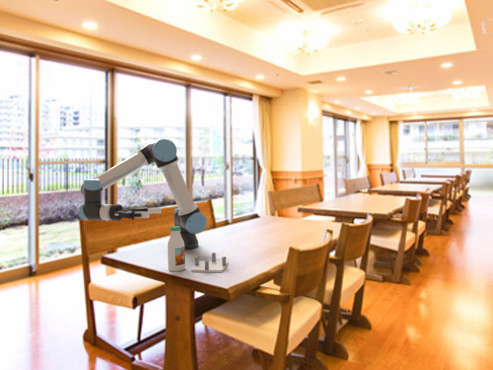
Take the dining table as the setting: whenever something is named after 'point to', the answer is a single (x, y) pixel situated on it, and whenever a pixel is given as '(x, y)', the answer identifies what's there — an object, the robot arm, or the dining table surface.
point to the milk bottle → (176, 250)
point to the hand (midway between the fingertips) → (155, 212)
